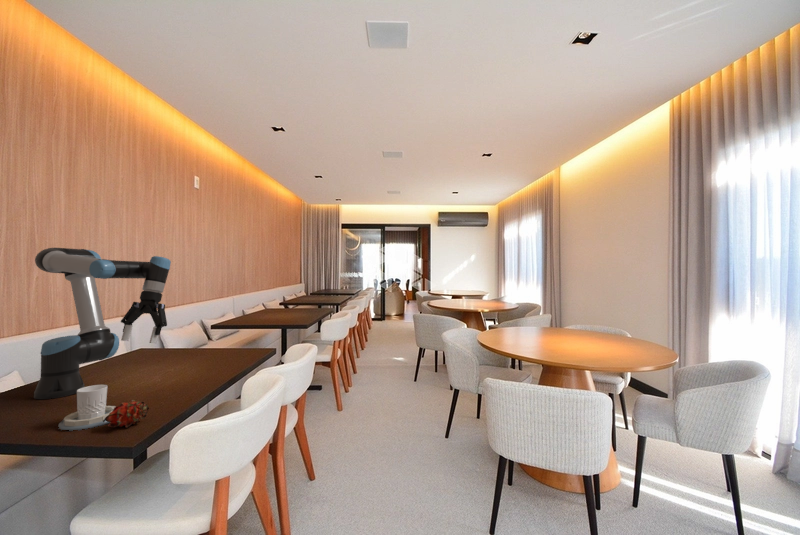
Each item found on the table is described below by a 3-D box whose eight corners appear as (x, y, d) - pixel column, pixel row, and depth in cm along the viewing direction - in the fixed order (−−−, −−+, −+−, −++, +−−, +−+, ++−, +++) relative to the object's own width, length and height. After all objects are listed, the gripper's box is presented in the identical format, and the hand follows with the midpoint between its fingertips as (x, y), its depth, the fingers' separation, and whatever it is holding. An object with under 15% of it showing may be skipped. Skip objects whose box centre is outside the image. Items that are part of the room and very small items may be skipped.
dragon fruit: (152, 424, 117) (106, 441, 108) (146, 405, 121) (102, 420, 113) (151, 409, 113) (104, 426, 104) (145, 390, 117) (99, 404, 109)
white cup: (88, 423, 112) (89, 392, 112) (69, 421, 114) (70, 391, 114) (112, 414, 120) (113, 385, 120) (94, 412, 121) (95, 383, 122)
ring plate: (44, 429, 110) (44, 421, 110) (96, 410, 126) (96, 403, 126) (85, 432, 107) (85, 424, 107) (133, 412, 123) (133, 405, 123)
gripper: (184, 295, 149) (171, 344, 143) (135, 292, 153) (121, 340, 147) (170, 291, 142) (157, 343, 136) (119, 288, 146) (104, 339, 140)
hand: (138, 342), depth 142 cm, fingers open, 13 cm apart
